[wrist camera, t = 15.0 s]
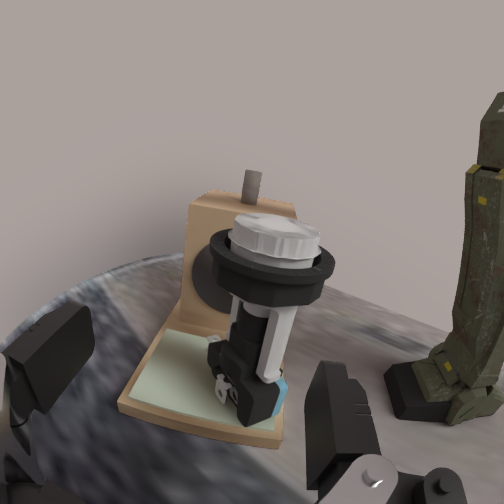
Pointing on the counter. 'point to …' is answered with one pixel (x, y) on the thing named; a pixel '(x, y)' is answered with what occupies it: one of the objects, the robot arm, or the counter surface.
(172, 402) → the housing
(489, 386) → the mechanical leg
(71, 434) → the counter surface
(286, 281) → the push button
